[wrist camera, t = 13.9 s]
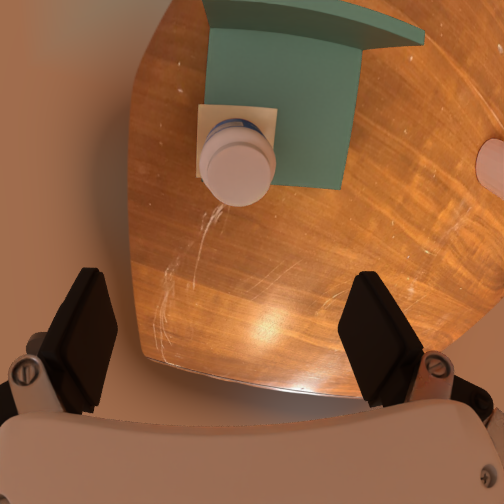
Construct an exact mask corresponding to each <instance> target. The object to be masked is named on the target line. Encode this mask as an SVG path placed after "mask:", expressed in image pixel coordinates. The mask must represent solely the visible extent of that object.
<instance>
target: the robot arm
mask: <svg viewBox="0 0 504 504" xmlns="http://www.w3.org/2000/svg"><path fill="white" fill-rule="evenodd" d="M117 327H118V326H117V322H116V319H115V315H114V312H113V308H112V305H111V302H110V297H109V294H108V290H107V286H106V282H105V278H104V274H103V273H102V272H99V270H98V268H82V269H81V271H80V273H79V274H78V276H77V278H76V280H75V282H74V283H73V285H72V287H71V289H70V291H69V292H68V294H67V297H66V298H65V300H64V302H63V303H62V304H61V306H60V307H59V309H58V311H57V313H56V315H55V317H54V319H53V321H52V323H51V325H50V328H49V330H48V332H47V334H46V336H45V338H44V340H43V342H42V345H41V347H40V349H39V351H38V353H37V355H36V356H35V355H32V354H26V355H23V356H20V357H19V358H17V359H16V360H15V361H14V362H13V363H12V364H11V366H10V368H9V371H8V381H6V382H4V383H2V384H1V385H0V504H504V413H503V412H502V411H501V410H499V409H498V408H495V409H493V400H492V398H491V396H490V395H489V394H488V392H487V391H485V390H484V389H482V388H480V387H478V386H476V385H474V384H472V383H470V382H468V381H466V380H464V379H462V378H460V377H458V376H456V375H454V366H453V364H452V362H451V360H450V359H449V358H448V357H447V356H446V355H444V354H443V353H441V352H438V351H428V352H426V353H425V354H424V352H423V350H422V349H423V348H424V347H423V345H422V344H421V342H420V340H419V339H418V337H417V335H416V333H415V332H414V330H413V329H412V327H411V325H410V324H409V322H408V320H407V319H406V317H405V316H404V314H403V312H402V311H401V309H400V308H399V306H398V304H397V303H396V301H395V300H394V298H393V297H392V295H391V294H390V292H389V291H388V289H387V288H386V286H385V285H384V283H383V282H382V280H381V279H380V277H379V276H378V274H377V273H376V272H375V271H362V272H360V273H359V275H357V276H356V277H355V279H354V282H353V285H352V288H351V290H350V293H349V296H348V299H347V302H346V305H345V308H344V310H343V313H342V316H341V319H340V321H339V324H338V334H339V336H340V339H341V341H342V344H343V346H344V349H345V351H346V354H347V357H348V359H349V362H350V364H351V367H352V370H353V372H354V375H355V377H356V380H357V383H358V385H359V388H360V391H361V394H362V396H363V399H364V400H365V401H368V403H369V406H370V408H371V407H376V406H380V405H383V408H380V409H376V410H370V411H365V412H360V413H354V414H349V415H343V416H337V417H331V418H325V419H317V420H310V421H302V422H292V423H282V424H270V425H253V426H214V427H213V426H212V427H210V426H175V425H160V424H148V423H138V422H129V421H120V420H112V419H104V418H97V417H91V416H85V415H82V411H83V412H88V413H93V411H94V407H95V406H98V405H99V402H100V398H101V393H102V389H103V385H104V381H105V377H106V372H107V369H108V365H109V361H110V358H111V354H112V350H113V347H114V343H115V340H116V336H117V331H118V328H117Z"/></svg>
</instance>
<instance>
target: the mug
mask: <svg viewBox="0 0 504 504" xmlns="http://www.w3.org/2000/svg"><path fill="white" fill-rule="evenodd" d="M476 175H477V178H478V181H479V182H480V184H481V185H482V186H483V187H485V188H486V189H488V190H489V191H491V192H492V193H494V194H495V195H497V196H498V197H500V198H501V199H502V200H504V142H503V141H501V140H499V139H490V140H488V141H486V142H485V143H484V144H483V146H482V147H481V149H480V151H479V153H478V157H477V161H476Z"/></svg>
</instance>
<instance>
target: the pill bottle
mask: <svg viewBox="0 0 504 504" xmlns="http://www.w3.org/2000/svg"><path fill="white" fill-rule="evenodd" d="M199 169H200V174H201V177H202V180H203V182H204V183H205V185H206V186H207V187H208V189H209V190H210V191H211V192H212V194H213V195H214V196H215V197H216V198H217V199H218V200H219V201H221V202H223V203H225V204H227V205H230V206H237V207H241V206H247V205H251V204H253V203H255V202H257V201H258V200H260V199H261V198H262V197H263V196H264V195H265V194H266V192H267V191H268V189H269V187H270V184H271V181H272V179H273V177H274V174H275V169H276V158H275V154H274V151H273V149H272V147H271V145H270V143H269V142H268V140H267V139H266V138H265V136H264V135H263V133H262V132H261V131H260V129H259V128H258V127H257V126H256V125H254V124H253V123H251V122H250V121H248V120H245V119H240V118H231V119H226V120H224V121H221V122H219V123H218V124H216V125H215V126H214V127H213V128H212V129H211V131H210V132H209V134H208V135H207V138H206V140H205V143H204V146H203V149H202V152H201V156H200V162H199Z"/></svg>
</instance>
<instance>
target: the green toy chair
mask: <svg viewBox="0 0 504 504" xmlns="http://www.w3.org/2000/svg"><path fill="white" fill-rule="evenodd" d="M202 2H203V5H204V8H205V12H206V15H207V19H208V22H209V26H210V34H209V45H208V57H207V70H206V84H205V101H204V104H199V105H198V125H197V156H196V178H201V181H202V182H203V180H202V177H201V174H200V169H199V162H200V156H201V152H202V149H203V146H204V143H205V140H206V138H207V135H208V134H209V132H210V131H211V129H212V128H213V127H214V126H215V125H216V124H218V123H219V122H221V121H224V120H226V119H231V118H240V119H245V120H248V121H250V122H251V123H253V124H254V125H256V126H257V127H258V128H259V129H260V131H261V132H262V133H263V135H264V136H265V138H266V139H267V140H268V142H269V143H270V145H271V147H272V149H273V151H274V154H275V158H276V169H275V174H274V177H273V179H272V181H271V184H270V185H285V186H299V187H312V188H323V189H334V190H340V189H341V184H342V179H343V174H344V169H345V164H346V159H347V153H348V148H349V142H350V137H351V131H352V125H353V118H354V112H355V106H356V99H357V92H358V84H359V77H360V69H361V60H362V51H363V50H367V49H376V48H387V47H400V46H421V45H424V39H425V31H424V30H422V29H420V28H417V27H415V26H413V25H411V24H408V23H406V22H403V21H401V20H398V19H396V18H393V17H391V16H388V15H385V14H382V13H380V12H377V11H374V10H371V9H368V8H365V7H361V6H358V5H355V4H351V3H348V2H344V1H340V0H202Z"/></svg>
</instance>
